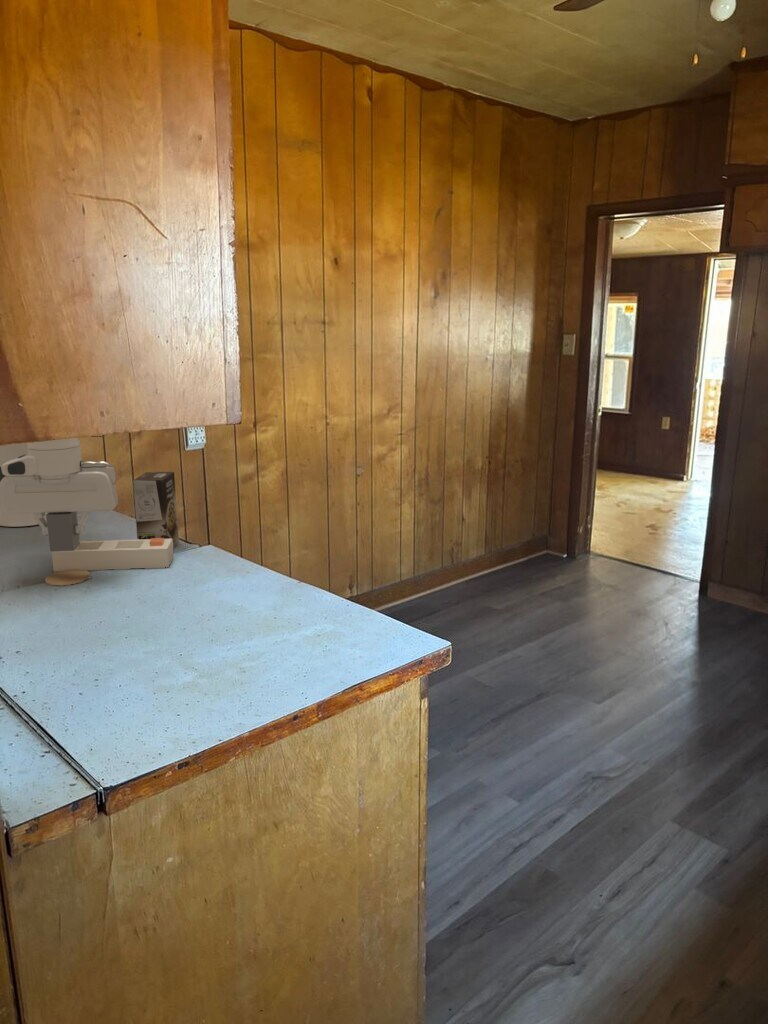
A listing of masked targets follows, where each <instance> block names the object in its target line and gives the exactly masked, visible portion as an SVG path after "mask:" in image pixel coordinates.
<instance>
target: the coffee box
mask: <svg viewBox="0 0 768 1024" xmlns="http://www.w3.org/2000/svg"><path fill="white" fill-rule="evenodd" d="M175 482H176V481H175V472H174V471H154V472H150V471H149V472H146V471H145V472H144V473H143V474H141V475H140V476H138V477H136V478H135V479H132V483H133V484H132V485H133V499H134V512H135V523H136V524H135V525H136V537H137V539H136V540H139V539H152V538H164V539H173V549H174V548H175V547H176V546H177V545H178V544H179V542H180V539H179V525H178V523H179V522H178V510H177V497H176V495H177V494H176V483H175Z"/></svg>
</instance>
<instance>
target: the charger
mask: <svg viewBox="0 0 768 1024" xmlns="http://www.w3.org/2000/svg"><path fill="white" fill-rule="evenodd" d="M46 519H47V528H48V536H47V537H48V542H49V543H48V545H49V551H50V552H52V551H74V550H75V549H76V548H77V547H78V546H79V545H80V541H81V540H80V535H74V528H73V526H74V525H75V524H79V522H78V512H54V513H48V514H47V515H46Z"/></svg>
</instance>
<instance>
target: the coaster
mask: <svg viewBox="0 0 768 1024" xmlns="http://www.w3.org/2000/svg"><path fill="white" fill-rule="evenodd" d="M89 577H90V578H91V573H90V572H89V570H65V571H55V572H54V573H50V574H49V575H47V576H46V577H45V578H44V579H45V580H44V581H45V583H46V584H47V583H48V584H47V585H49V584H50V586H54V585H61V586H60V587H63V585H66V586H71V584H74V585H77V584H76V583H78V584H81V583H83V582H82V581H84V580H86V581H88V580H89V579H90V578H89ZM88 578H89V579H88ZM87 579H88V580H87ZM80 582H81V583H80ZM84 582H85V581H84Z"/></svg>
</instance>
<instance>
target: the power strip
mask: <svg viewBox="0 0 768 1024" xmlns="http://www.w3.org/2000/svg"><path fill="white" fill-rule="evenodd" d="M174 554H175V553H174V548H173V539H164V538H152V539H139V540H137V539H113V540H112V539H108V540H106V539H105V540H80V545H79V546H78V547H77V548H76V549H75V550H74V551H51V560H52V570H53V572H54V573H56V572H60V571H65V570H85V571H108V570H107V569H115V570H131V569H130V568H145V569H167V567H169V568H170V566H169V565H171V564H170V563H172V562H173V560H172V559H174V558H175V556H174ZM173 557H174V558H173ZM171 561H172V562H171ZM165 567H166V568H165ZM105 569H106V570H105Z"/></svg>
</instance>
